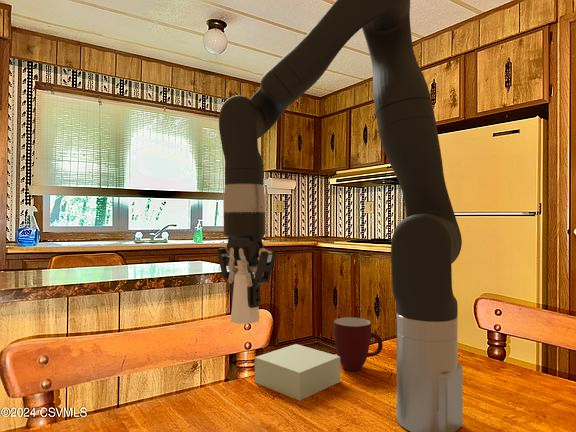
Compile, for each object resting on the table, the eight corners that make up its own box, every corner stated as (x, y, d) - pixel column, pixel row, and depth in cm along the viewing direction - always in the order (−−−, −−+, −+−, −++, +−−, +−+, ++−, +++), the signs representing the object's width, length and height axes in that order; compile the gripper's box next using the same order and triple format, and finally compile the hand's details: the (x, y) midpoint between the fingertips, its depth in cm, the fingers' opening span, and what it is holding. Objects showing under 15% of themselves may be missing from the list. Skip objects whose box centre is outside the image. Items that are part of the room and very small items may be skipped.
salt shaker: (234, 325, 73) (234, 261, 73) (226, 318, 78) (226, 258, 78) (264, 322, 75) (263, 260, 75) (255, 315, 80) (254, 257, 80)
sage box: (340, 381, 84) (340, 356, 84) (299, 400, 75) (299, 372, 75) (295, 366, 92) (295, 343, 92) (254, 382, 84) (254, 357, 84)
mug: (375, 360, 97) (375, 316, 97) (387, 373, 89) (387, 325, 89) (329, 362, 95) (329, 317, 95) (338, 375, 87) (338, 327, 87)
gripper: (287, 209, 74) (287, 307, 74) (235, 211, 84) (236, 297, 84) (255, 209, 69) (256, 315, 69) (204, 210, 79) (204, 303, 79)
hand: (245, 304), depth 77 cm, fingers closed on salt shaker, 4 cm apart
